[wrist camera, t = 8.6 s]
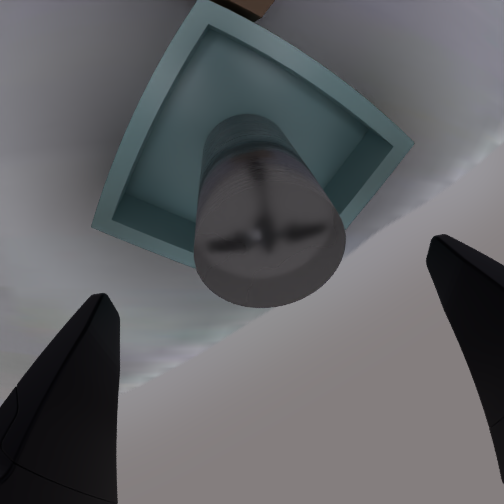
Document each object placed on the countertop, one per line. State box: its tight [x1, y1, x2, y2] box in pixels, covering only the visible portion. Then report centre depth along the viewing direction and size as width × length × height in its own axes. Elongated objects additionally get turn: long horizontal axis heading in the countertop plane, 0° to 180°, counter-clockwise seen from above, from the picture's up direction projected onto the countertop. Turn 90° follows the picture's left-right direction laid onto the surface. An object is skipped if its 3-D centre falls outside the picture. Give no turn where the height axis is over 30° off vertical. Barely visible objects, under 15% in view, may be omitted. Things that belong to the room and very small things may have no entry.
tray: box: [91, 0, 415, 269], centre depth 13 cm, size 10×10×3 cm
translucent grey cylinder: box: [194, 114, 346, 308], centre depth 11 cm, size 4×4×8 cm
